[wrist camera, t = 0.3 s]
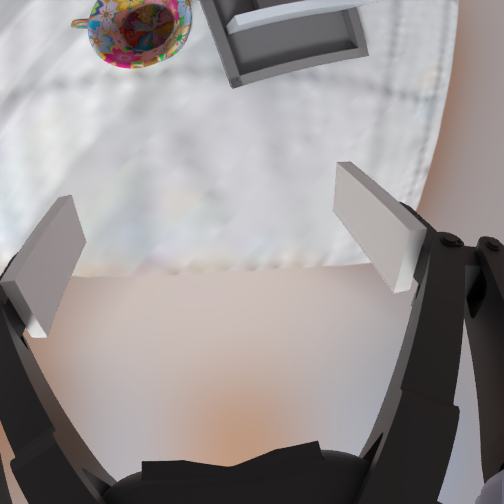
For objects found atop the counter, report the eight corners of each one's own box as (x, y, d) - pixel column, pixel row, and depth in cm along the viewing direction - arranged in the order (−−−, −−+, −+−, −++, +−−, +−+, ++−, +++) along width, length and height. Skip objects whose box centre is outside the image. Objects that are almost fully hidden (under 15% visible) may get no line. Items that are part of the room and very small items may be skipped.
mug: (200, -2, 28) (201, -23, 19) (185, 69, 33) (180, 72, 24) (102, -5, 25) (71, -22, 16) (89, 65, 30) (54, 69, 21)
